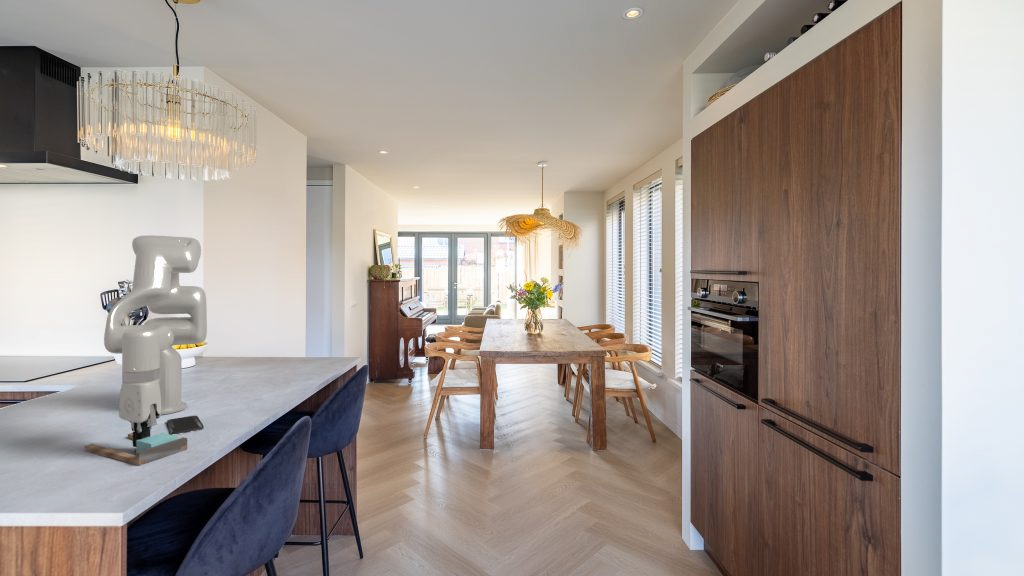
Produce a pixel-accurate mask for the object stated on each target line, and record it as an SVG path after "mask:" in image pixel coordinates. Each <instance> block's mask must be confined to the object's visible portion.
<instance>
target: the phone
mask: <svg viewBox="0 0 1024 576" xmlns="http://www.w3.org/2000/svg"><path fill="white" fill-rule="evenodd" d="M166 425H167V427H168V429H169V433H170V432H171V433H170V435H171V434H177V435H181V434H180V433H183V434H186V433H185V432H188V433H192V432H191V431H194V432H198V431H197V430H199V431H202V429H203V430H204V427H205V426H204V424H203V422H202V421H201V420H200V418H199V416H198V415H189V416H184V417H177V418H176V417H175V418H170V419H167V420H166Z"/></svg>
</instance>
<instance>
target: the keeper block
mask: <svg viewBox="0 0 1024 576" xmlns="http://www.w3.org/2000/svg"><path fill="white" fill-rule="evenodd" d="M177 439H178V436H177V435H171V433H165V432H161V433H158V434H154V435H150V437H146V438H143V439H139V440H136V447H135V448H136V450H135V453H136V452H138V451H142V450H145V449H148V448H151V447H154V446H157V445H161V444H164V443H167V442H170V441H173V440H177Z"/></svg>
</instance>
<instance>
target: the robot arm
mask: <svg viewBox="0 0 1024 576" xmlns="http://www.w3.org/2000/svg"><path fill="white" fill-rule="evenodd" d="M131 246H132V250H133V252H134V255H135V262H134V269H133V270H134V271H133V280H132V288H131V291H130V292H128V293H127V294H126V295H124V296H123V297H121V298H120V299H118V301H117V302H116V303H114V305H113V306H112V307H111V309H110V310H109V312H108V314H107V317H106V320H105V321H106V322H105V328H104V335H103V344H104V347H105V349H106V350H107V351H108V352H109V353H111V354H114V355H115V354H120V355H121V373H122V375H121V378H122V379H121V387H120V393H119V404H118V405H119V406H118V417H119V418H120V419H121V420H124V421H127V422H129V423H130V429H131V431H132V433H133V439H132V447H133V448H136V440H139V439H143V438H146V437H150V436H151V430H152V428H153V427H155V426H156V425H158V421H157V420H158V419H159V418H160V417H161V416H163V415H169V414H173V413H178V412H180V411H183V410H185V409H187V408H188V404H187V402H184V401H182V375H183V374H182V372H183V371H182V367H183V365H182V363H183V362H182V361H183V359H182V356H181V354H180V353H179V352H178V351H177V350H176V348H174V346H178V345H179V346H185V345H197V344H201V343H203V342H204V341H205V340H206V338H207V334H208V333H207V332H208V325H207V323H208V322H207V319H208V318H207V312H208V311H207V296H206V292H205V290H204V288H202V287H201V286H200V287H199V286H196V285H180V274H190V273H194V272H196V270H197V268H198V266H199V261H200V258H201V256H202V247H201V244H200V242H199V240H198V239H197V238H194V237H188V236H186V237H184V236H169V235H168V236H167V235H151V234H150V235H139V236H136V237H134V238H133V239H132V241H131ZM146 306H147V307H148V310H149V311H150V312H151V313H153V314H158V315H181V314H184V315H185V314H186V315H189V316H181V317H179V316H178V317H176V316H174V317H173V316H171V317H170V316H169V317H168V316H167V317H166V316H165V317H155V318H151V319H148V320H147V321H145V323H143V324H135V325H134V324H131V325H130V324H126V325H122V323H123V320H124V319H125V318H126V317H127V316H128V315H129V314H131V313H132V312H134V311H136V310H138V309H141V308H144V307H146ZM107 351H106V352H107Z"/></svg>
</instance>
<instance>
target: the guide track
mask: <svg viewBox="0 0 1024 576" xmlns="http://www.w3.org/2000/svg"><path fill="white" fill-rule="evenodd" d="M129 438H130V439H129ZM127 439H129V440H133V432H130V433H127ZM186 449H187V450H188V437H179V438H177V440H173V441H170V442H167V443H164V444H161V445H157V446H154V447H151V448H148V449H145V450H142V451H138V452H136V451H135V454H132V453H127V452H124V451H121V450H116V449H114V448H113V449H112V448H109V447H105V446H102V445H98V444H95V443H90V444H87V445H84V451H86V452H90V453H94V454H96V455H100V456H103V457H107V458H111V459H114V460H119V461H121V462H124V463H129V464H132V465H137V466H139V467H140V466H142V464H143V465H146V464H149V463H151V462H154V461H157V460H160V459H162V458H166V457H169V456H172V455H175V454H178V453H181V452H183V450H184V451H186ZM180 451H181V452H180ZM177 452H178V453H177ZM174 453H175V454H174ZM171 454H172V455H171ZM168 455H169V456H168ZM145 463H146V464H145Z"/></svg>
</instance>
